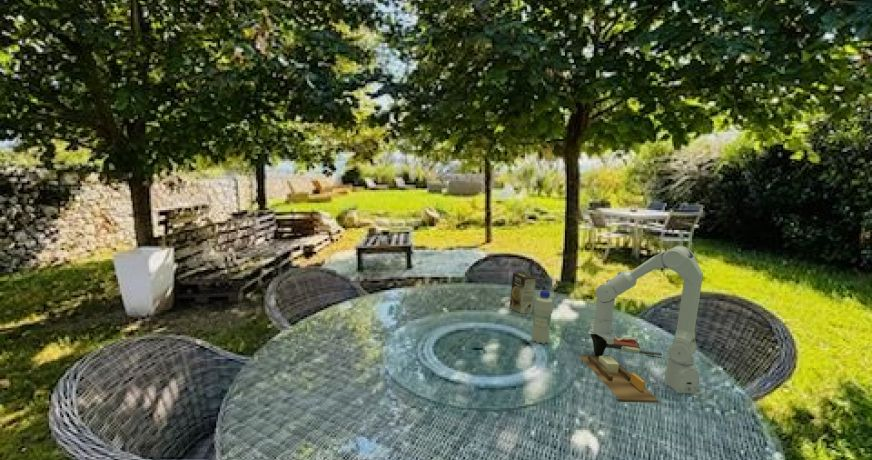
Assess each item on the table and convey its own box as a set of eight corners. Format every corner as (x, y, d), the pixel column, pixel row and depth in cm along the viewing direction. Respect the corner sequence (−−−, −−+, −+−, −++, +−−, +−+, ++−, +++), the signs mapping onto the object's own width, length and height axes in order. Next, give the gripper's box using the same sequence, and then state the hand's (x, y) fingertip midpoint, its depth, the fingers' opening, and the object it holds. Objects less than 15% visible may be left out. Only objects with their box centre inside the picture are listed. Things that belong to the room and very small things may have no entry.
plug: (617, 372, 157) (619, 364, 157) (606, 372, 157) (607, 363, 156) (609, 364, 163) (610, 356, 163) (597, 364, 163) (599, 355, 162)
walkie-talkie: (604, 351, 177) (662, 359, 174) (605, 340, 176) (664, 347, 173) (600, 342, 186) (655, 350, 183) (601, 331, 185) (657, 338, 182)
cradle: (658, 402, 141) (659, 395, 141) (618, 401, 140) (619, 394, 139) (610, 358, 171) (611, 352, 170) (578, 357, 169) (578, 351, 169)
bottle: (527, 343, 178) (533, 290, 175) (533, 337, 184) (539, 286, 181) (545, 348, 175) (552, 294, 172) (550, 342, 181) (557, 290, 178)
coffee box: (508, 307, 219) (512, 272, 217) (520, 306, 222) (524, 271, 220) (520, 313, 211) (524, 277, 209) (532, 312, 214) (536, 277, 211)
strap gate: (631, 381, 151) (633, 372, 151) (643, 391, 145) (645, 381, 145) (629, 381, 151) (630, 372, 151) (640, 391, 145) (642, 381, 145)
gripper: (583, 310, 172) (578, 346, 174) (601, 325, 157) (596, 364, 160) (602, 311, 173) (597, 347, 175) (622, 326, 158) (616, 365, 160)
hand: (598, 355), depth 167 cm, fingers closed
